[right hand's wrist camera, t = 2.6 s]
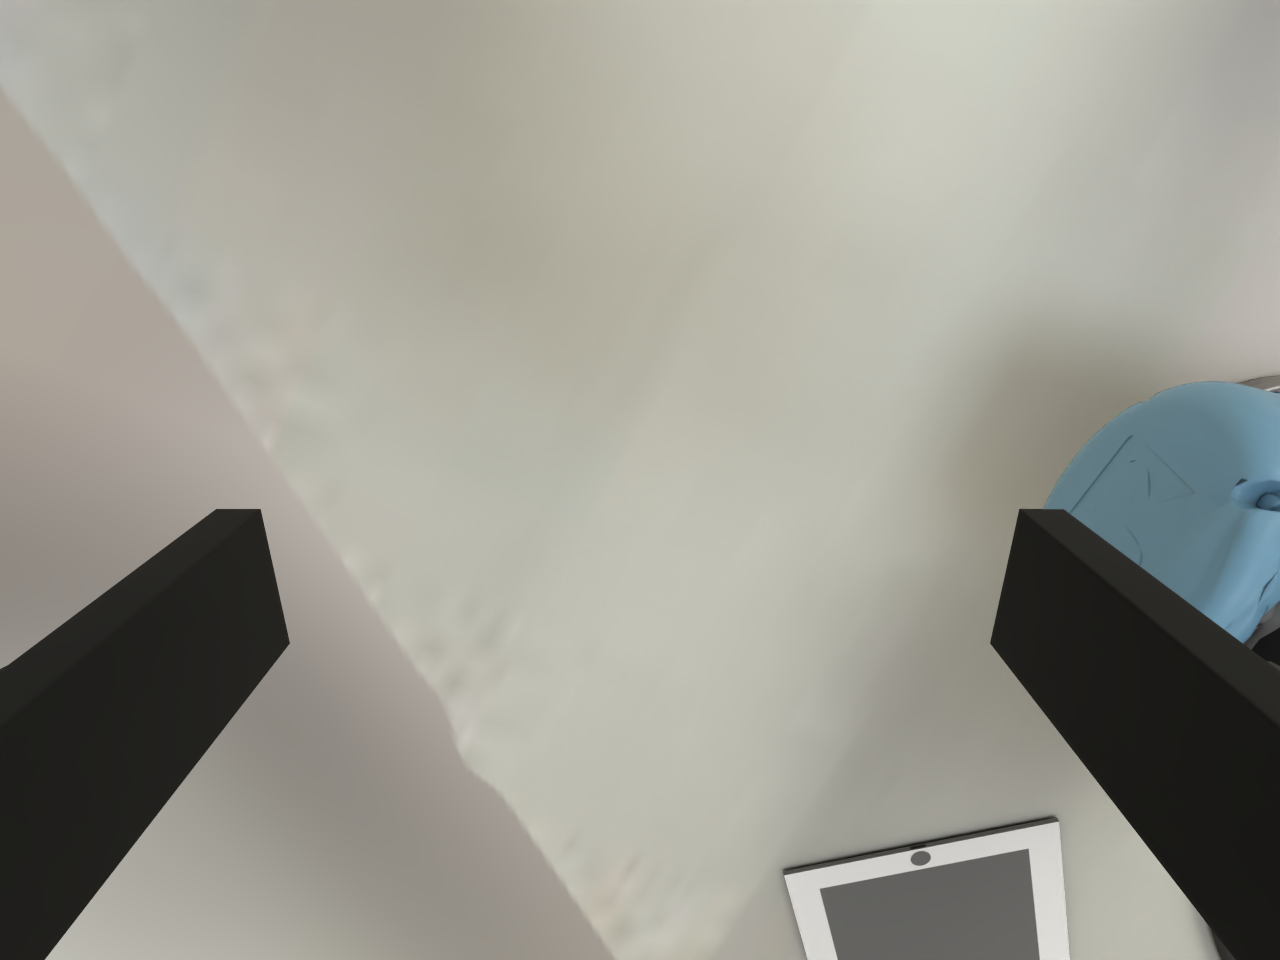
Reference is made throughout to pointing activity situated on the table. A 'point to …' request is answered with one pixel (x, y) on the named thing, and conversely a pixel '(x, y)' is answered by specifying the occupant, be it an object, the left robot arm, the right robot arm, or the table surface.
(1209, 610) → the left robot arm
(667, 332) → the table surface
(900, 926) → the tablet
